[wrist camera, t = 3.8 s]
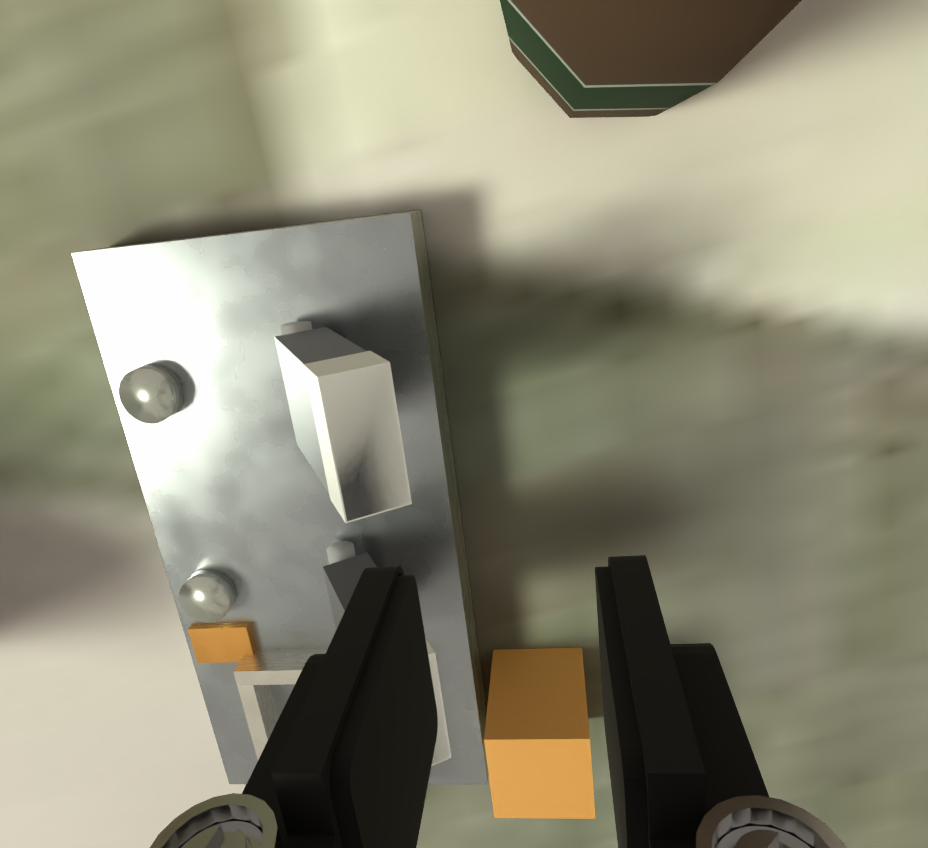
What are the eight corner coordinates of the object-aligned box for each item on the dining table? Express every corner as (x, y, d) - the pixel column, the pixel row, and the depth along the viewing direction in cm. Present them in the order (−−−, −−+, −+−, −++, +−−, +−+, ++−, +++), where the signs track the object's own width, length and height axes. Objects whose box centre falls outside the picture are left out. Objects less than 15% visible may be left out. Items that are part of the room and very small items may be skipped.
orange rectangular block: (582, 647, 34) (589, 738, 29) (587, 718, 36) (595, 818, 30) (493, 649, 35) (483, 739, 29) (501, 719, 36) (494, 818, 31)
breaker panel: (421, 209, 28) (402, 215, 24) (491, 746, 37) (485, 809, 33) (108, 247, 30) (46, 257, 26) (248, 747, 39) (217, 808, 35)
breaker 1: (318, 317, 28) (389, 356, 19) (339, 427, 29) (412, 508, 21) (266, 326, 27) (316, 372, 19) (290, 439, 28) (346, 527, 20)
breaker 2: (359, 535, 31) (434, 648, 23) (376, 624, 32) (451, 760, 24) (313, 549, 30) (374, 671, 22) (333, 639, 32) (396, 785, 23)
